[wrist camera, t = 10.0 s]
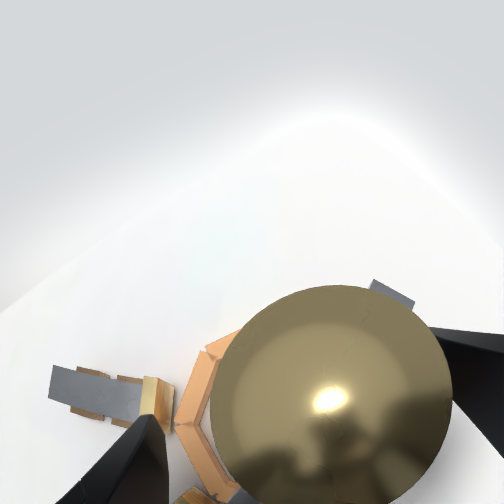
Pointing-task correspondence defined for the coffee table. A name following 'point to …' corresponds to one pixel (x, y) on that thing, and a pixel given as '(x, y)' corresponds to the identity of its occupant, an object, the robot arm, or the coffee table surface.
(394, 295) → the brass and grey cylinder
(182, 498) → the gray block with lugs
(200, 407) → the collar
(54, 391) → the grey block with pads
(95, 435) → the coffee table surface
